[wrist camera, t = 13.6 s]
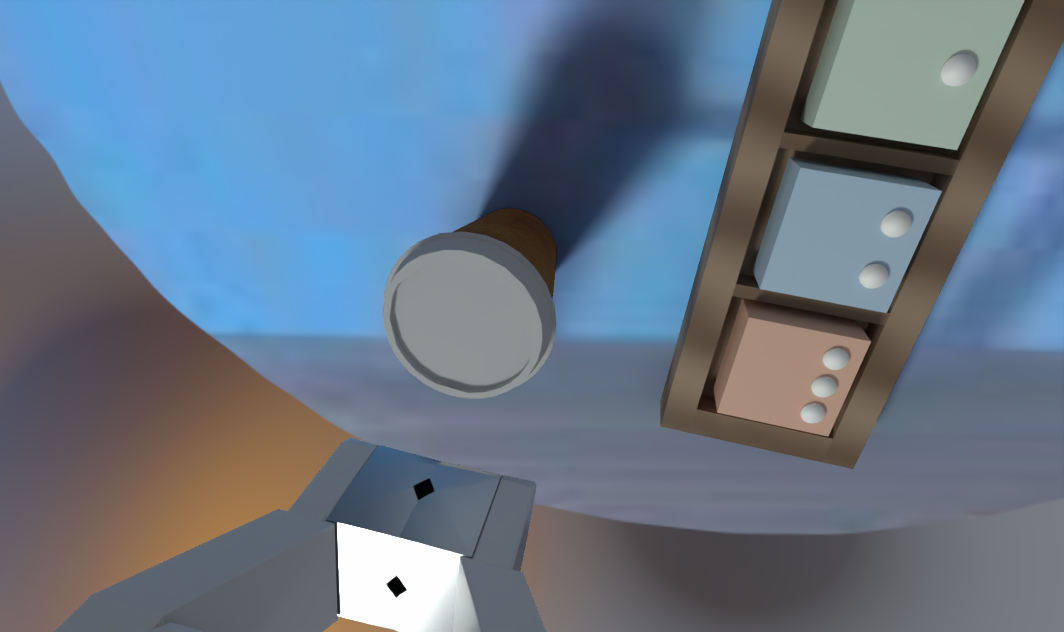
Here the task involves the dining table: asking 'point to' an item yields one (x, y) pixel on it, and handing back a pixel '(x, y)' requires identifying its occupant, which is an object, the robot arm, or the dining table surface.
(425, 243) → the disposable coffee cup
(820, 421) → the tile three
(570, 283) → the dining table surface
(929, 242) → the key frame
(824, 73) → the tile one
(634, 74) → the dining table surface
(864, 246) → the tile two
